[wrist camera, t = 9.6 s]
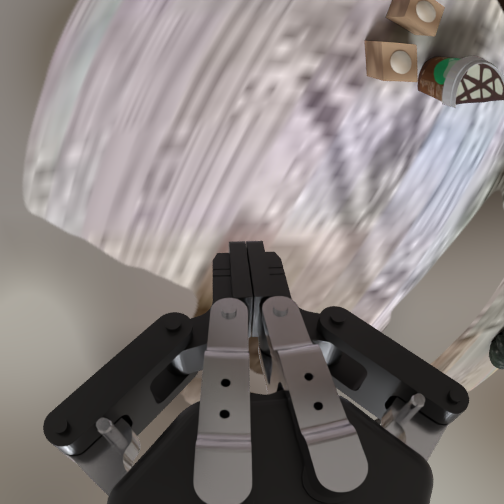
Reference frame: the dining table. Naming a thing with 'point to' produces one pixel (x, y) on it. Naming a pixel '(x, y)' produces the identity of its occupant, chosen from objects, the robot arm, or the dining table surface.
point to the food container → (461, 80)
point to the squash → (497, 352)
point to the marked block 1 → (416, 15)
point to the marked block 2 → (391, 61)
